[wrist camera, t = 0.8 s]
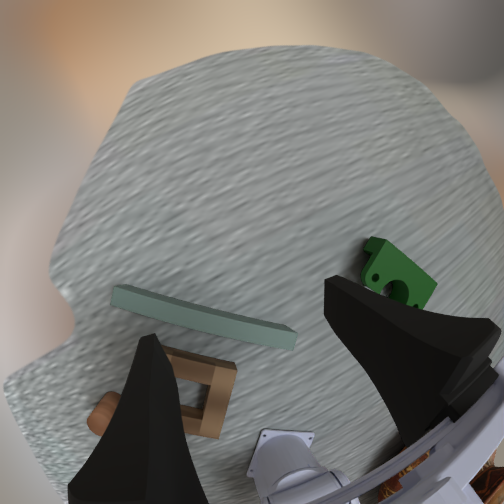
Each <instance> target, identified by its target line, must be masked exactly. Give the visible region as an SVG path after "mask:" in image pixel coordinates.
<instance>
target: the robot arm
mask: <svg viewBox="0 0 504 504" xmlns="http://www.w3.org/2000/svg"><path fill="white" fill-rule="evenodd" d="M324 316H325V318H326V319H327V321H328V323H329V324H330V326H331V328H332V329H333V331H334V332H335V334H336V335H337V336H338V338H339V339H340V340H341V341H342V343H343V344H344V345H345V346H346V347H347V349H348V350H349V351H350V352H351V354H352V355H353V356H354V357H355V358H356V360H357V361H358V362H359V363H360V365H361V366H362V367H363V368H364V370H365V371H366V373H367V374H368V375H369V377H370V379H371V380H372V382H373V383H374V385H375V387H376V388H377V390H378V392H379V393H380V395H381V397H382V399H383V400H384V402H385V404H386V406H387V408H388V410H389V412H390V414H391V416H392V418H393V420H394V422H395V424H396V426H397V428H398V431H399V433H400V435H401V438H402V440H403V443H404V444H405V446H406V447H407V449H406V450H404V451H403V452H401V453H400V454H398V455H397V456H395V457H394V458H392V459H391V460H389V461H388V462H386V463H384V464H383V465H381V466H380V467H378V468H376V469H375V470H373V471H371V472H370V473H368V474H366V475H364V476H362V477H361V478H359V479H357V480H355V481H353V482H350V481H349V479H348V478H347V476H346V475H345V474H344V473H343V472H342V471H340V470H337V469H332V470H330V471H328V470H327V468H326V467H325V466H323V467H321V465H320V464H319V463H318V461H317V460H316V458H315V457H314V455H313V454H312V452H311V451H310V449H309V448H310V445H311V443H312V440H313V438H314V436H315V434H314V433H313V432H301V431H284V430H271V429H263V430H262V431H261V434H260V437H259V440H258V443H257V446H256V449H255V451H254V454H253V457H252V460H251V463H250V465H249V468H248V471H247V473H246V475H247V477H253V479H254V482H255V485H256V488H257V491H258V494H259V498H260V500H261V502H260V504H360V502H359V500H358V497H359V496H361V495H363V494H365V493H366V492H368V491H370V490H372V489H373V488H375V487H377V486H378V485H380V484H382V483H383V482H385V481H387V480H388V479H390V478H391V477H393V476H394V475H396V474H397V473H399V472H400V471H402V470H403V469H405V468H406V467H408V466H409V465H410V464H412V463H413V462H414V461H416V460H417V459H419V458H420V457H421V456H423V455H424V454H425V453H426V452H428V451H429V450H430V449H431V450H430V452H429V457H428V458H427V459H426V460H425V461H423V462H422V463H421V464H419V465H418V466H417V467H415V468H414V469H413V470H411V471H410V472H409V473H407V474H406V475H404V476H403V477H401V478H400V479H399V482H400V484H401V485H402V487H403V488H402V489H400V490H399V491H397V492H396V493H394V494H393V495H391V496H389V497H388V498H386V499H384V500H383V501H381V502H379V503H378V504H484V503H483V502H482V501H481V499H480V498H479V497H478V495H477V494H476V492H475V491H474V490H473V488H472V487H471V486H470V484H469V482H470V481H471V480H472V479H473V477H474V476H475V475H476V474H477V473H478V472H479V470H480V469H481V468H482V467H483V465H484V464H485V463H486V462H487V460H488V459H489V458H490V456H491V455H492V454H493V452H494V451H495V450H496V448H497V447H498V445H499V444H500V442H501V441H502V440H503V438H504V356H503V357H502V358H501V360H500V361H499V362H498V363H497V364H496V366H495V367H494V368H492V367H491V366H490V365H491V363H492V360H491V359H490V358H489V357H488V356H489V354H490V353H491V351H492V350H493V348H494V346H495V344H496V343H497V341H498V339H499V337H500V335H501V329H500V328H499V327H498V326H497V325H496V324H495V323H494V322H492V321H491V320H490V319H489V318H466V317H457V316H450V315H444V314H439V313H434V312H430V311H425V310H422V309H418V308H415V307H412V306H409V305H406V304H403V303H400V302H397V301H395V300H392V299H390V298H387V297H385V296H382V295H380V294H378V293H376V292H373V291H371V290H369V289H367V288H365V287H362V286H360V285H358V284H356V283H354V282H352V281H349V280H347V279H345V278H343V277H340V276H338V275H335V276H333V277H330V278H327V279H325V286H324ZM264 434H265V436H263V435H264ZM310 437H311V438H310ZM68 503H69V504H209V503H208V500H207V498H206V496H205V493H204V491H203V489H202V486H201V484H200V481H199V478H198V476H197V473H196V470H195V467H194V465H193V462H192V459H191V455H190V452H189V449H188V446H187V442H186V438H185V433H184V428H183V421H182V415H181V408H180V401H179V394H178V387H177V383H176V379H175V375H174V371H173V367H172V364H171V362H170V361H169V359H168V357H167V355H166V353H165V351H164V350H163V348H162V346H161V344H160V342H159V340H158V338H157V336H156V334H151V335H147V336H143V337H141V338H140V340H139V343H138V346H137V350H136V353H135V356H134V360H133V363H132V366H131V369H130V372H129V375H128V378H127V381H126V384H125V387H124V389H123V392H122V394H121V397H120V400H119V402H118V405H117V407H116V409H115V412H114V414H113V416H112V418H111V420H110V422H109V424H108V426H107V428H106V430H105V432H104V434H103V436H102V437H101V439H100V441H99V443H98V444H97V446H96V447H95V449H94V450H93V452H92V454H91V455H90V457H89V458H88V460H87V461H86V463H85V464H84V465H83V467H82V468H81V469H80V470H79V472H78V473H77V474H76V475H75V477H74V478H73V479H72V480H71V482H70V483H69V484H68Z"/></svg>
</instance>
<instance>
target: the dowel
mask: <svg viewBox="0 0 504 504" xmlns="http://www.w3.org/2000/svg"><path fill="white" fill-rule="evenodd" d="M120 397H121V395H120V394H118V393H116V392H113V391H111V392H107V393H106V394H105V396H104V397H103V398H102V400H101V401H100V402H99V403H98V405H97V406H96V407H95V409H94V410H93V411H92V413H91V414H90V415H89V417H88V418H87V425H88V427H89V429H90V430H91V431H92V432H93V433H95V434H96V435H99V436H103V434H104V432H105V430H106V428H107V426H108V424H109V422H110V420H111V418H112V416H113V414H114V412H115V409H116V407H117V405H118V402H119V400H120Z"/></svg>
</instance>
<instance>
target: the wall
mask: <svg viewBox="0 0 504 504" xmlns="http://www.w3.org/2000/svg"><path fill="white" fill-rule="evenodd" d="M110 305H112V306H115V307H118V308H122V309H125V310H128V311H131V312H134V313H137V314H141V315H144V316H147V317H150V318H154V319H157V320H161V321H164V322H168V323H171V324H175V325H179V326H182V327H186V328H190V329H194V330H198V331H202V332H206V333H210V334H214V335H218V336H223V337H227V338H231V339H236V340H240V341H245V342H250V343H255V344H260V345H265V346H270V347H275V348H281V349H286V350H292V351H293V350H294V346H295V343H296V339H297V336H298V333H297V332H295V331H294V330H292V329H290V328H289V327H287V326H286V325H282V324H277V323H272V322H268V321H263V320H259V319H254V318H250V317H245V316H241V315H237V314H233V313H229V312H224V311H220V310H216V309H212V308H209V307H205V306H201V305H197V304H193V303H189V302H186V301H182V300H178V299H175V298H171V297H168V296H164V295H161V294H157V293H154V292H150V291H147V290H144V289H140V288H137V287H134V286H130V285H127V284H125V285H119V286H114V289H113V294H112V298H111V303H110Z"/></svg>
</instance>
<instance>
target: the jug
mask: <svg viewBox="0 0 504 504" xmlns="http://www.w3.org/2000/svg"><path fill="white" fill-rule="evenodd" d="M406 449H407V447H406V446H405V447H404V448H403V450H402V451H401V452H403V451H404V450H406ZM430 450H431V449H430ZM430 450H429V451H428V452H426V453H425V454H424V455H423V456H421V457H420V458H419V459H417V460H416V461H414V462H413V463H412V464H410V465H409V466H408V467H406V468H405V469H403V470H402V471H400V472H399V473H397V474H396V475H394V476H393V477H391V478H390V479H388V480H387V481H385V482H383V483H382V485H381V487H380V489H379V494H378V503H379V502H381V501H383V500H384V499H386V498H388V497H389V496H391V495H393V494H394V493H396V492H397V491H399V490H400V489H402V488H403V487H402V485H401V484H400V482H399V479H400V478H401V477H403V476H404V475H406V474H407V473H409V472H410V471H411V470H413V469H414V468H415V467H417V466H418V465H419V464H421V463H422V462H423V461H425V460H426V459H427V458H428V457H429V452H430ZM496 450H497V448H496ZM496 450H495V451H494V452H493V454H492V455H491V456H490V458H489V459H488V460H487V462H486V463H485V464H484V465H483V467H482V468H481V469H480V470H479V472H478V473H477V474H476V475H475V476H474V477H473V479H472V480H471V481H470V482H469V484H470V486H471V487H472V488H473V490H474V491H475V492H476V494H477V495H478V497H479V498H480V499H481V501H482V502H483V503H484V504H502V502H503V501H504V467H495V466H494V462H493V461H494V458H495V454H496ZM401 452H400V453H401ZM400 453H399V454H400Z"/></svg>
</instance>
